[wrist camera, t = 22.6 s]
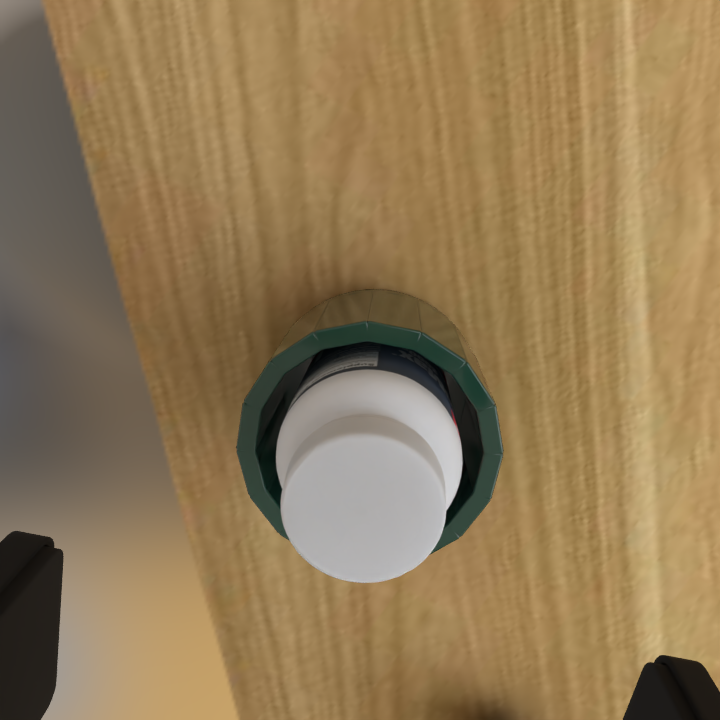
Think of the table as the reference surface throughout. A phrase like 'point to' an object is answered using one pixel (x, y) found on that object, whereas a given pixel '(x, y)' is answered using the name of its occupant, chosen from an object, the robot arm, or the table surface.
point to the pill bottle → (368, 461)
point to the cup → (389, 327)
